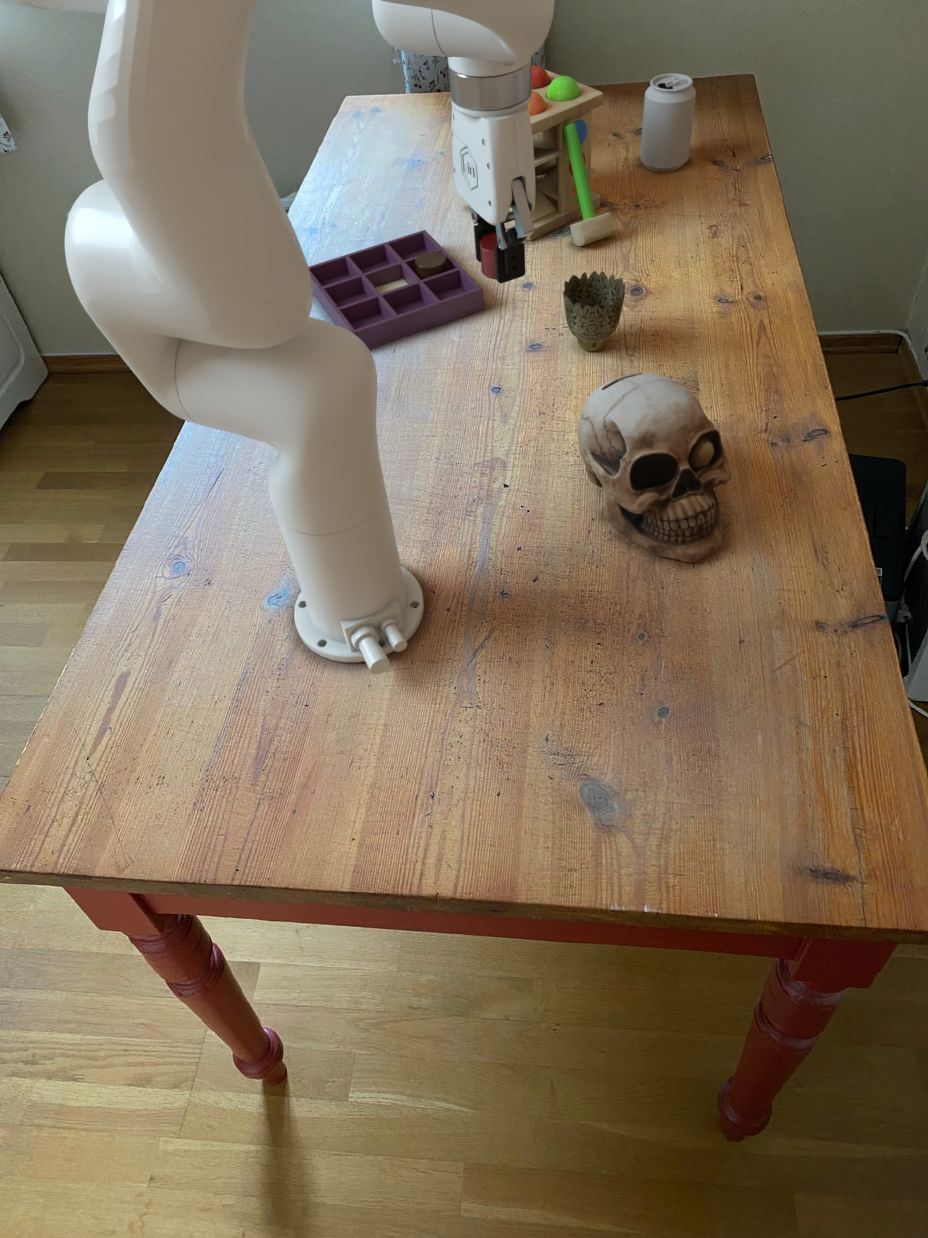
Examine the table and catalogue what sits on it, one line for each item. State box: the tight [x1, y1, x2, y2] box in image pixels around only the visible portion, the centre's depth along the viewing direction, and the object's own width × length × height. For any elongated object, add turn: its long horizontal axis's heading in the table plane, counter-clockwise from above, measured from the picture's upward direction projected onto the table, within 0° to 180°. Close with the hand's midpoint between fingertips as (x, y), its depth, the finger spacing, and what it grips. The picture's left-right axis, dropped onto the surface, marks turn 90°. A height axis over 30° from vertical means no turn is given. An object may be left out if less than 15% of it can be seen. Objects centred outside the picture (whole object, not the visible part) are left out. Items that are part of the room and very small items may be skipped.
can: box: [639, 72, 697, 173], centre depth 136 cm, size 8×8×12 cm
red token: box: [480, 232, 498, 281], centre depth 95 cm, size 4×4×3 cm
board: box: [308, 229, 485, 350], centre depth 121 cm, size 19×19×3 cm
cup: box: [562, 270, 626, 352], centre depth 109 cm, size 8×7×8 cm
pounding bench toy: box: [469, 65, 615, 247], centre depth 126 cm, size 23×14×18 cm, turn 38°
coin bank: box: [577, 372, 733, 563], centre depth 90 cm, size 16×17×13 cm
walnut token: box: [415, 251, 447, 280], centre depth 122 cm, size 4×4×3 cm
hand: (500, 266), depth 96 cm, fingers closed on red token, 4 cm apart
